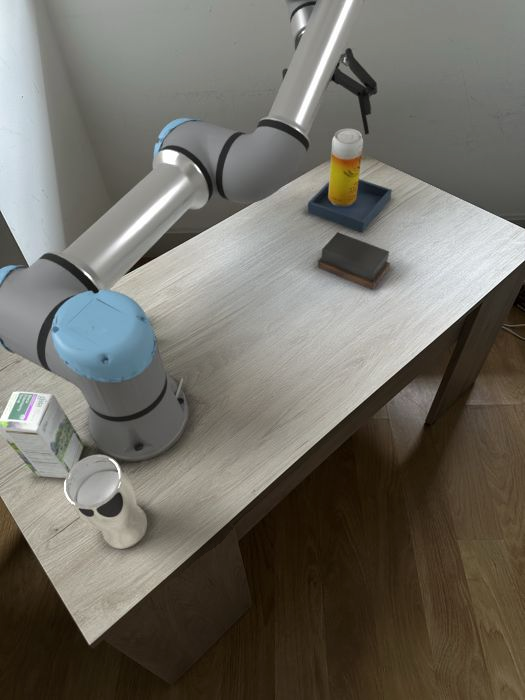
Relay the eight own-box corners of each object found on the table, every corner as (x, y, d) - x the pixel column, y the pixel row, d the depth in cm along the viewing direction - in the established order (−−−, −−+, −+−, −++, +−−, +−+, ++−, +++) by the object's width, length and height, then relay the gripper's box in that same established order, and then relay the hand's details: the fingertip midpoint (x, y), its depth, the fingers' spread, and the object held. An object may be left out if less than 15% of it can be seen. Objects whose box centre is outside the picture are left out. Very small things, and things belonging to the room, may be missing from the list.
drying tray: (307, 212, 113) (308, 202, 111) (337, 182, 119) (338, 171, 117) (362, 232, 108) (363, 222, 106) (390, 199, 114) (392, 189, 112)
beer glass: (130, 492, 74) (100, 441, 62) (161, 525, 71) (135, 478, 59) (89, 527, 71) (50, 481, 60) (119, 563, 68) (84, 522, 56)
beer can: (354, 209, 111) (361, 145, 100) (326, 206, 113) (330, 142, 101) (357, 193, 115) (365, 128, 103) (330, 190, 116) (335, 126, 104)
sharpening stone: (317, 267, 102) (318, 249, 98) (334, 247, 105) (336, 229, 102) (372, 290, 97) (375, 272, 94) (389, 268, 101) (392, 250, 97)
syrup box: (49, 442, 80) (10, 389, 68) (86, 445, 79) (52, 392, 68) (36, 476, 76) (-9, 427, 65) (74, 480, 76) (36, 430, 64)
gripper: (378, 31, 102) (397, 131, 100) (258, 71, 109) (273, 166, 106) (375, 4, 95) (396, 111, 92) (247, 48, 101) (263, 149, 99)
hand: (331, 141), depth 99 cm, fingers open, 13 cm apart
